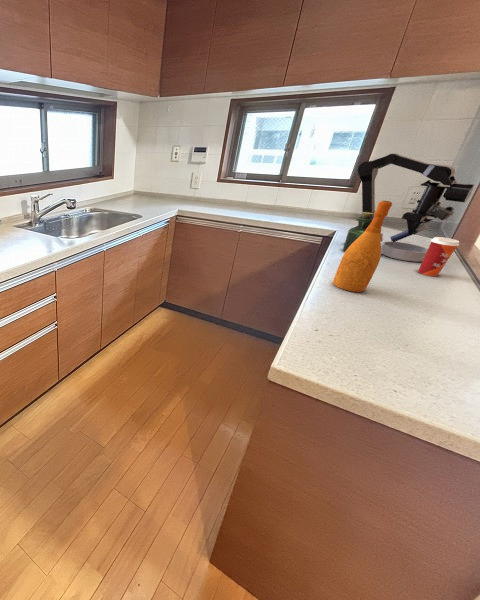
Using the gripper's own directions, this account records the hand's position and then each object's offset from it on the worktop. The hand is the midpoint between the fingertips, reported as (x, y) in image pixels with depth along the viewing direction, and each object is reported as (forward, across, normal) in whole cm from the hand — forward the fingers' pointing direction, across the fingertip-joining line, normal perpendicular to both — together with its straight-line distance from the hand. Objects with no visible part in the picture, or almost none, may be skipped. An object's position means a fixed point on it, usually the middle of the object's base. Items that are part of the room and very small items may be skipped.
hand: (411, 234), depth 142 cm
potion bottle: (+10, -15, +13) cm, 22 cm away
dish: (+10, 0, 0) cm, 10 cm away
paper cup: (+10, -16, -15) cm, 24 cm away
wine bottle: (+10, -61, -9) cm, 63 cm away
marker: (+4, 0, +6) cm, 7 cm away
